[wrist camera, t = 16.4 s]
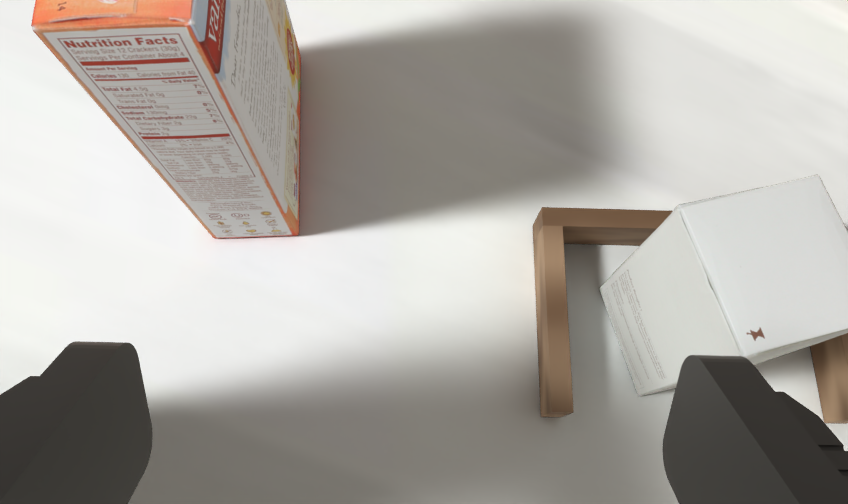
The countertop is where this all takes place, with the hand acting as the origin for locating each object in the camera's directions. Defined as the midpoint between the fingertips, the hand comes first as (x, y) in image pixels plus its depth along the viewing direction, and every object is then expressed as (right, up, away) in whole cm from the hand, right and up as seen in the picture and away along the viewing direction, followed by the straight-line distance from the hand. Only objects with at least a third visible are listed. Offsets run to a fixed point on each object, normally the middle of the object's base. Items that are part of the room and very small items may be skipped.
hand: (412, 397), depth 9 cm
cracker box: (-11, +9, +34) cm, 37 cm away
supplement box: (+16, -3, +30) cm, 34 cm away
